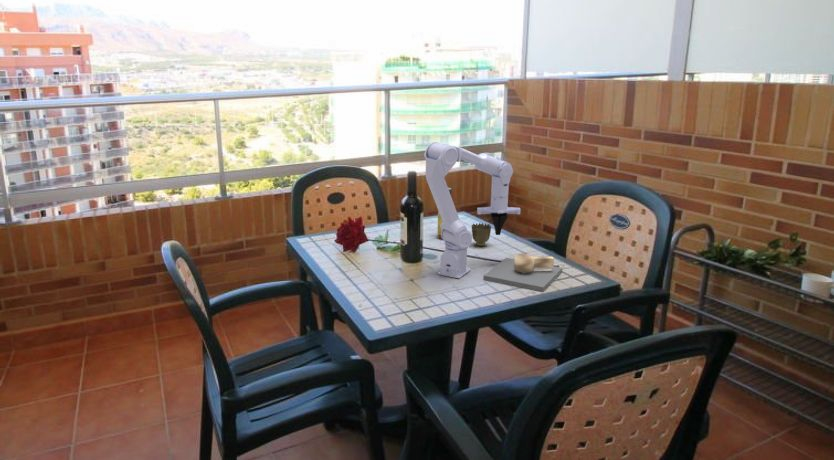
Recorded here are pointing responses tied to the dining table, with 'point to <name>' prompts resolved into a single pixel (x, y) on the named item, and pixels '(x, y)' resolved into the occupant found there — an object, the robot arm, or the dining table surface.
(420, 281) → the dining table surface
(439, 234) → the sauce bottle
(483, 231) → the cup
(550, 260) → the beige rounded piece
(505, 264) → the base plate
